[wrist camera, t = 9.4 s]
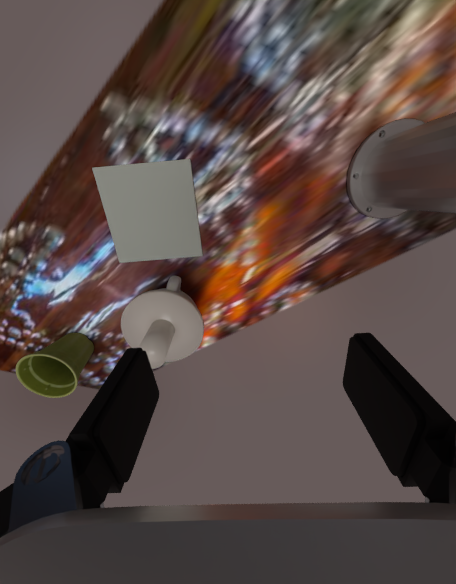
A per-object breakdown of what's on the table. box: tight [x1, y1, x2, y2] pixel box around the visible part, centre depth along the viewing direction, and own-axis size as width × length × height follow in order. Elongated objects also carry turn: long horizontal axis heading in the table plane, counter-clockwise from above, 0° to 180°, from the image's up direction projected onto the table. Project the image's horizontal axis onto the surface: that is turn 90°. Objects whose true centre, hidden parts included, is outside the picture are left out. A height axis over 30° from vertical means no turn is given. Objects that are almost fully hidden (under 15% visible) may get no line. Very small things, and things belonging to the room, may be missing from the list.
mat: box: [92, 159, 203, 263], centre depth 34 cm, size 14×14×1 cm
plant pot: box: [16, 333, 94, 398], centre depth 40 cm, size 9×9×9 cm
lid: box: [121, 290, 204, 369], centre depth 30 cm, size 12×12×7 cm
